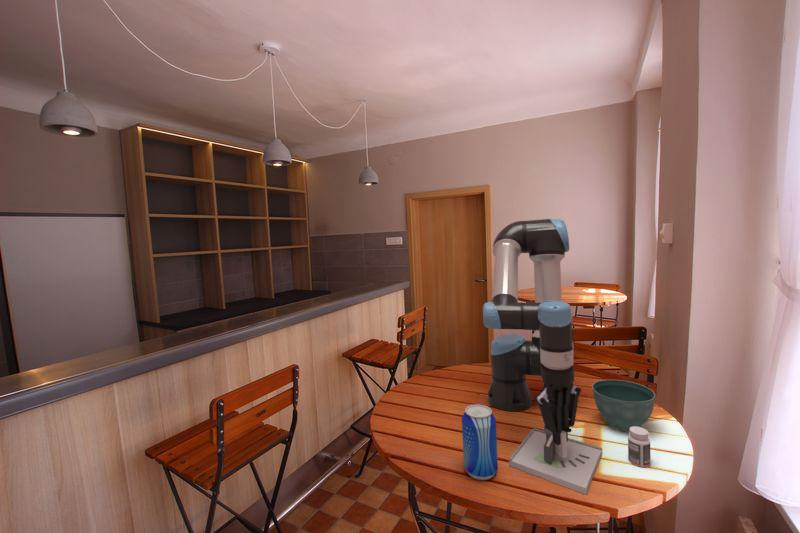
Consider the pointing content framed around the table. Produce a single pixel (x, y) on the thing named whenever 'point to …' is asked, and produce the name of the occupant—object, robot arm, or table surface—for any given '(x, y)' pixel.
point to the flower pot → (623, 403)
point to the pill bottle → (639, 447)
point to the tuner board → (564, 476)
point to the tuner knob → (549, 446)
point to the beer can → (479, 442)
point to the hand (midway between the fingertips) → (561, 454)
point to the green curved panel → (557, 461)
